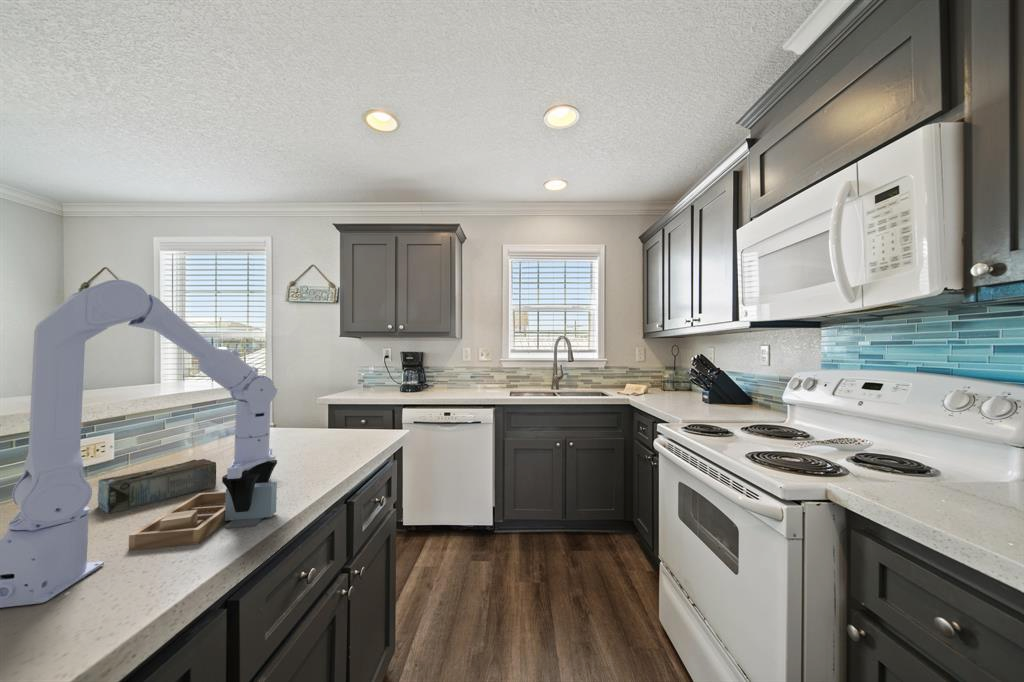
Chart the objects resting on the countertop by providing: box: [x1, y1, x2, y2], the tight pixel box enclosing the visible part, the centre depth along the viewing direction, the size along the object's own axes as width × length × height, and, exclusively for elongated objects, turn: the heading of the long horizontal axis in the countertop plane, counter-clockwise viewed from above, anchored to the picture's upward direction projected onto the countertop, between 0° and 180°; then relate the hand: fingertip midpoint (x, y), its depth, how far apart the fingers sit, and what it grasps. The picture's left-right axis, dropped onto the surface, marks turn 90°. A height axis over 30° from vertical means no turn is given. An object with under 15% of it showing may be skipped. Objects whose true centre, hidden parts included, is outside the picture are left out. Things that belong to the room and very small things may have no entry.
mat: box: [224, 518, 264, 529], centre depth 75 cm, size 8×5×1 cm, turn 12°
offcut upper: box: [160, 510, 199, 531], centre depth 67 cm, size 3×4×2 cm
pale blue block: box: [224, 481, 278, 522], centre depth 75 cm, size 2×8×6 cm, turn 102°
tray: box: [128, 491, 228, 551], centre depth 73 cm, size 20×10×2 cm, turn 12°
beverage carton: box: [97, 458, 217, 514], centre depth 87 cm, size 8×19×7 cm, turn 148°
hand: (250, 504), depth 75 cm, fingers open, 6 cm apart
